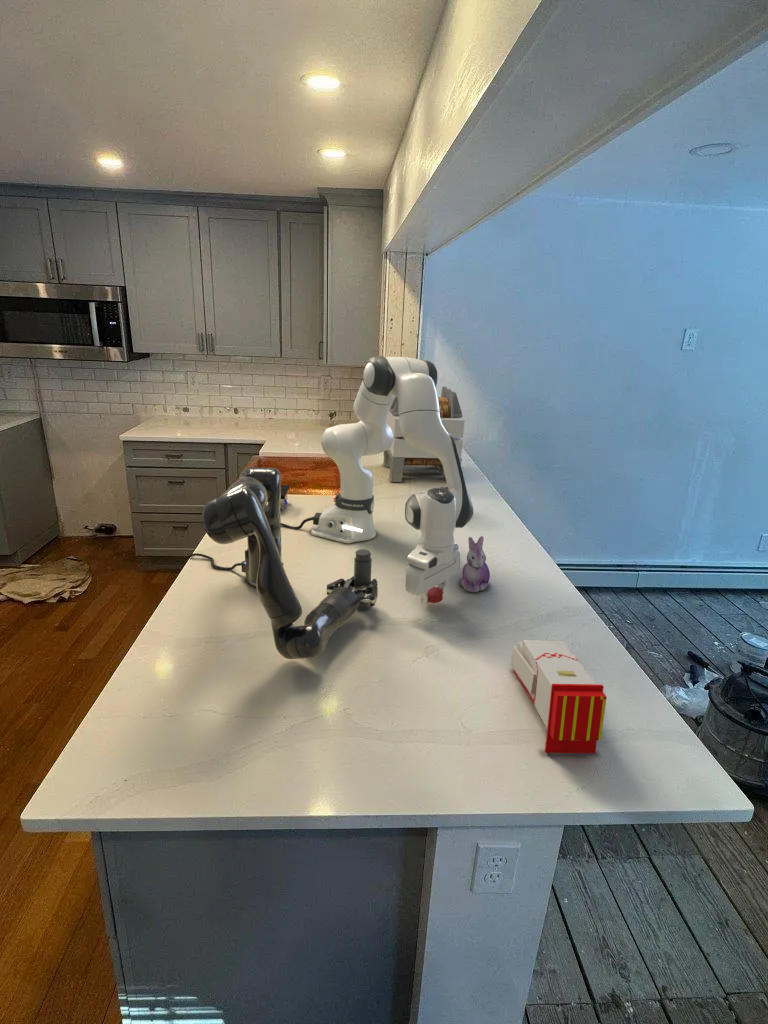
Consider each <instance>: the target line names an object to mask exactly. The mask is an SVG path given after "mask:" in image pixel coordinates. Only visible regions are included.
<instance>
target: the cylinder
mask: <svg viewBox="0 0 768 1024" xmlns="http://www.w3.org/2000/svg"><path fill="white" fill-rule="evenodd" d="M371 556H372V552H371V551H370V550H369V549H364V548H361V549H357V550H355V557H354V559H353V560H354V561H353V576H354V588H358V587H360V586H362V585H364V586H366V585H368V584H369V583H370V582H371V581H372V564H373V563H372V562H373V559H372V557H371ZM367 591H368V590H367ZM367 597H368V596H367ZM370 607H371V606H370V603H366V602H364V603H363V604H361V605H359V606H358V608H357V610H367V609H369V608H370Z"/></svg>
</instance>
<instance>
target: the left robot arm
mask: <svg viewBox="0 0 768 1024" xmlns="http://www.w3.org/2000/svg"><path fill="white" fill-rule="evenodd" d="M281 485H282V477H281V472H280V470H279V469H278V468H276V467H246V468H244V469H242V471H241V473H240V474H239V477H238V478H237V480H236V481H235V482H233V483H232V484H231V485H230V486H229V487H228V488H227V489H226V490H225V491H224V492H223V493H222V494H221V495H220V496H219V497H217V498H214V499H211V500H210V501H208V502H207V503H205V505H204V507H203V509H202V515H201V516H202V517H201V519H202V524H203V525H202V526H203V528H204V531H205V533H206V534H207V535H208V537H209V538H210V539H211V540H212V541H213V542H214V543H217V544H219V545H230V544H233V543H235V542H237V541H241V540H243V539H246V540H247V541H246V542H247V549H245V550H244V560H243V561H240V562H238V563H234V564H233V565H232V566H231V567H229V566H228V567H227V566H225V567H224V566H219V565H216V564H215V560H214V558H213V557H212V556H210V555H207V554H203V553H197V552H196V553H195V552H194V553H191V554H189V555H188V556H186V558H187V559H190V558H192V557H201V558H206V559H208V560H210V564H211V566H212V567H213V568H214V569H218V570H222V571H231V570H234V569H235V568H236V567H240V566H241V572H242V573H245V581H246V582H247V583H249V585H251V586H253V587H256V592H257V597H258V599H259V601H260V603H261V604H262V607H263V609H264V611H265V613H266V614H267V617H268V618H269V620H270V625H271V631H272V636H273V641H274V646H275V649H276V651H277V652H278V654H279V655H280V656H281V657H283V658H284V659H287V660H301V659H313V658H316V657H318V656H320V655H321V654H323V653H324V651H325V650H326V647H327V645H328V642H329V640H330V637H331V635H332V634H333V633H334V632H335V631H336V630H337V629H338V628H340V627H341V626H342V625H344V624H345V623H346V622H347V621H348V620H349V619H350V617H352V616H353V615H354V614H355V612H357V610H358V609H357V608H358V606H359V605H361V604H363V603H364V602H366V603H370V607H374V606H375V605H376V602H377V599H378V593H379V587H378V580H377V578H373V579H371V582H370V583H369V584H368V585H366V586H364V585H362V586H360V587H358V588H354V575H353V576H351V577H350V578H347V579H344V578H339V579H337V580H335V581H332V582H331V583H328V584H327V585H326V596H325V597H324V598H322V599H321V601H320V602H319V603H318V604H317V605H316V606H315V607H313V609H312V610H311V611H309V613H307V615H306V616H305V618H304V622H303V624H302V625H294V624H293V623H295V622H296V621H297V620H299V619H300V617H301V616H302V614H303V607H302V604H301V602H300V601H299V598H298V596H297V594H296V592H295V590H294V589H293V586H292V585H291V581H290V580H289V577H288V575H287V573H286V570H285V567H284V562H283V560H282V559H283V558H282V557H283V556H282V526H281V523H282V519H281V518H282V517H281V512H280V497H281ZM268 503H269V504H268ZM367 590H368V591H367ZM367 596H368V597H367Z"/></svg>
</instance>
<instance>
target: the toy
mask: <svg viewBox="0 0 768 1024" xmlns="http://www.w3.org/2000/svg"><path fill="white" fill-rule="evenodd" d="M510 666H511V667H512V669H513V673H514V674H515V676H516V677H517V680H518V681H519V682H520V684H521V686H522V687H523V689H524V690H525V692H526V694H527V696H528V697H529V699H530V700H531V702H532V703H533V705H534V707H535V710H536V711H537V713H538V714H539V717H540V718H541V720H542V722H543V724H544V726H545V728H546V734H545V735H546V736H545V745H544V752H545V754H596V752H597V743H598V742H601V741H602V737H603V729H604V720H605V713H606V705H607V695H606V693H605V692H604V687H605V686H604V685H603V684H598V683H597V682H596V681H595V679H593V677H592V676H591V674H589V672H588V671H587V670H586V668H585V666H583V664H582V663H581V662H580V661H579V660H578V658H577V656H576V655H575V654H574V653H573V651H572V650H571V649H570V648H569V646H568V645H567V644H566V643H565V642H564V641H563V640H539V639H538V640H537V639H536V640H535V639H534V640H533V639H532V640H530V639H529V640H528V639H523V640H522V641H517V643H516V646H512V652H511V659H510Z"/></svg>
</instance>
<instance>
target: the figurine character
mask: <svg viewBox="0 0 768 1024" xmlns="http://www.w3.org/2000/svg"><path fill="white" fill-rule="evenodd" d="M289 489H290V485H287V484H286V485H285V484H281V497H280V513H281V512H282V510H283V509H285V508H286V507H285V506H287V505H288V503H289V502H288V495H287V493H288V491H289ZM268 504H269V503H268V502H267V505H268Z"/></svg>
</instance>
